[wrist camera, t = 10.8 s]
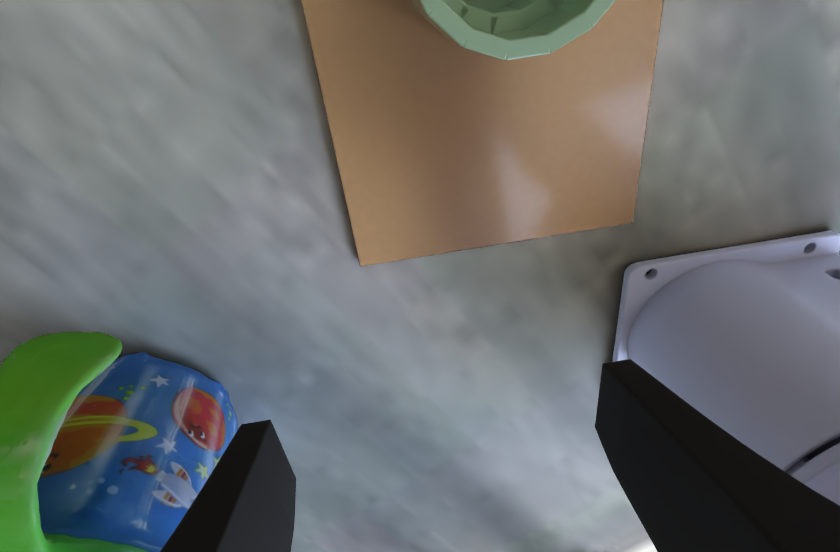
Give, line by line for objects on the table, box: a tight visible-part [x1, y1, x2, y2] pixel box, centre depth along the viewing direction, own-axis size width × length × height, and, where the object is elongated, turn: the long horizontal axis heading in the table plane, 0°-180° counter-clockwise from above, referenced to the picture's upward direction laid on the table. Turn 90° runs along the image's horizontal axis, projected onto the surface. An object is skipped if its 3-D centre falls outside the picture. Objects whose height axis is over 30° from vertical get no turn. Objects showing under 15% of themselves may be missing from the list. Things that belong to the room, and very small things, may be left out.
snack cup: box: [0, 332, 238, 552], centre depth 17 cm, size 16×10×10 cm
